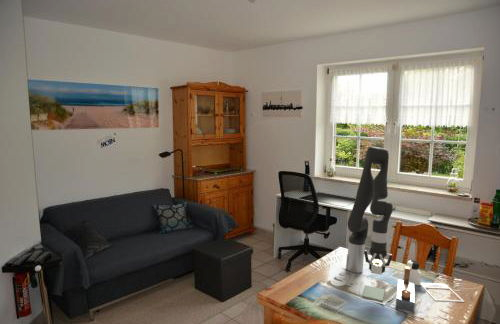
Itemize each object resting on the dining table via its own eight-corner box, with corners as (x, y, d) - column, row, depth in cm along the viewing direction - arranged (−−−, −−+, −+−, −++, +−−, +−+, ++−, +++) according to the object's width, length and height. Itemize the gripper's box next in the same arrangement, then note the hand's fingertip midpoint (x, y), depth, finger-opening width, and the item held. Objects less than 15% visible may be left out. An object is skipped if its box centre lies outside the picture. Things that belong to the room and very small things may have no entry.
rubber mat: (361, 296, 176) (362, 295, 176) (364, 286, 187) (364, 284, 187) (382, 301, 172) (382, 300, 172) (384, 290, 183) (384, 289, 183)
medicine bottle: (415, 279, 197) (417, 259, 195) (420, 285, 190) (422, 265, 188) (402, 278, 198) (404, 258, 196) (407, 284, 191) (409, 264, 189)
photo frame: (445, 283, 192) (464, 300, 174) (445, 285, 192) (464, 303, 174) (419, 282, 192) (434, 299, 175) (418, 283, 193) (434, 301, 175)
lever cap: (381, 274, 173) (382, 265, 172) (371, 272, 175) (371, 263, 174) (382, 268, 180) (383, 259, 180) (372, 266, 182) (372, 257, 181)
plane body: (413, 312, 164) (416, 286, 162) (395, 308, 167) (398, 282, 165) (413, 291, 183) (416, 268, 181) (397, 287, 187) (399, 265, 185)
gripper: (363, 239, 175) (361, 271, 177) (394, 244, 169) (391, 277, 171) (365, 235, 182) (363, 266, 184) (394, 239, 176) (392, 271, 178)
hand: (376, 271), depth 178 cm, fingers closed on lever cap, 5 cm apart
